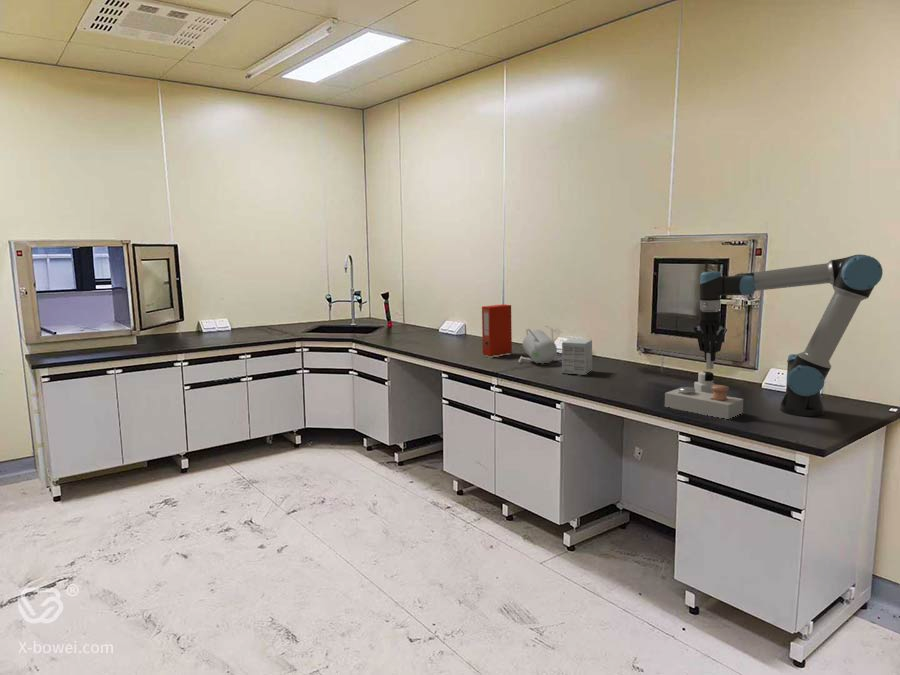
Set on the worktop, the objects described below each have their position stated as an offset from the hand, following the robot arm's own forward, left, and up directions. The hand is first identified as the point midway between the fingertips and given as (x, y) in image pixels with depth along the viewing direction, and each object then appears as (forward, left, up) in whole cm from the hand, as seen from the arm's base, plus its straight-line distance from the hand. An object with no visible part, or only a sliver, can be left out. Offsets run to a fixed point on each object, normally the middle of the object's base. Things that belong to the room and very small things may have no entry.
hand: (709, 368), depth 239 cm
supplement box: (+85, -22, -18) cm, 90 cm away
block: (+2, 0, -18) cm, 18 cm away
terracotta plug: (-5, 0, -14) cm, 15 cm away
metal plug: (+9, 0, -17) cm, 20 cm away
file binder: (+153, -27, -18) cm, 157 cm away
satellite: (+118, -28, -18) cm, 123 cm away
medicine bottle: (+10, -17, -18) cm, 27 cm away
